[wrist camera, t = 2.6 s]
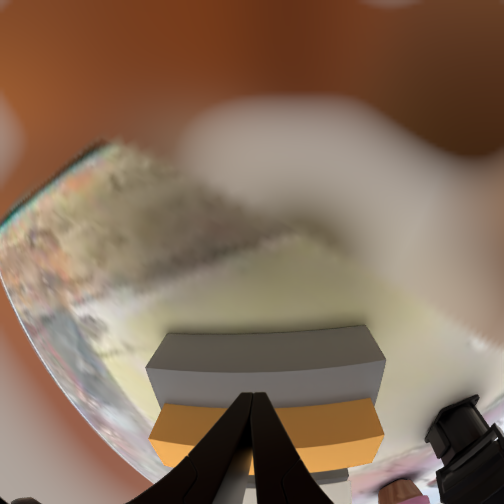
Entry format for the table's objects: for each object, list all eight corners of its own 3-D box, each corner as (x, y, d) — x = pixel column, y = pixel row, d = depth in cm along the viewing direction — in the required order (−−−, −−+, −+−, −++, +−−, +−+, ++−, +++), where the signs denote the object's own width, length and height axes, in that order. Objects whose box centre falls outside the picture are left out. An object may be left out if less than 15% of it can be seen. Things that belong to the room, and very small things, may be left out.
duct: (365, 325, 18) (386, 359, 14) (333, 471, 24) (337, 498, 19) (167, 333, 20) (145, 367, 15) (213, 474, 25) (208, 501, 21)
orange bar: (370, 397, 15) (384, 434, 11) (361, 428, 16) (371, 462, 12) (164, 403, 16) (148, 438, 13) (176, 432, 17) (164, 465, 13)
